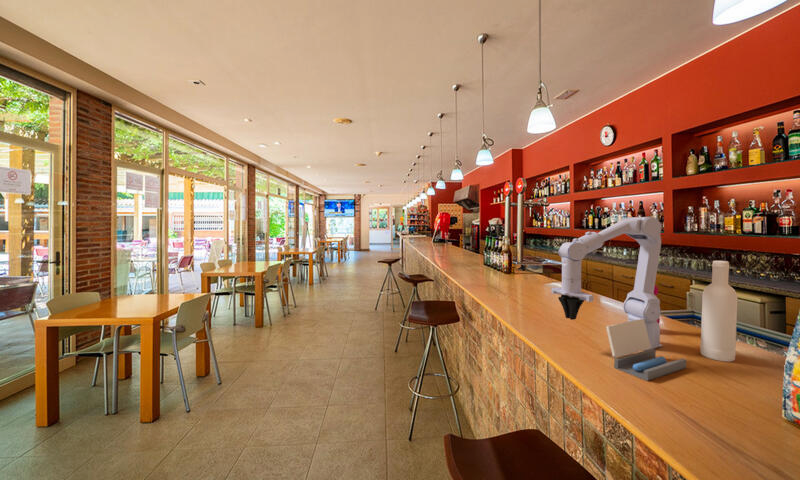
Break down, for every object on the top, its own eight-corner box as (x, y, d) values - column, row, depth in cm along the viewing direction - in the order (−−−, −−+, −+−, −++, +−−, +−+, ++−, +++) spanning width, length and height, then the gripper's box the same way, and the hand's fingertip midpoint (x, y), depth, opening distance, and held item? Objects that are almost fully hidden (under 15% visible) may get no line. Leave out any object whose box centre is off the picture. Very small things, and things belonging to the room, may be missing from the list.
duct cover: (651, 348, 103) (648, 348, 104) (643, 318, 105) (641, 318, 105) (615, 358, 96) (613, 357, 97) (608, 326, 98) (605, 326, 99)
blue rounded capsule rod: (658, 361, 99) (658, 355, 99) (666, 364, 97) (666, 357, 97) (631, 370, 94) (631, 363, 94) (638, 373, 92) (638, 366, 92)
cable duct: (651, 356, 103) (652, 348, 103) (686, 368, 95) (686, 359, 95) (614, 367, 96) (614, 359, 96) (647, 381, 88) (647, 371, 88)
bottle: (734, 356, 103) (738, 260, 101) (736, 364, 97) (740, 263, 95) (700, 349, 108) (703, 259, 107) (699, 357, 103) (702, 261, 101)
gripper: (545, 276, 115) (544, 314, 115) (582, 282, 101) (582, 326, 102) (559, 274, 117) (559, 312, 118) (598, 280, 104) (597, 323, 105)
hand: (570, 318), depth 110 cm, fingers closed
